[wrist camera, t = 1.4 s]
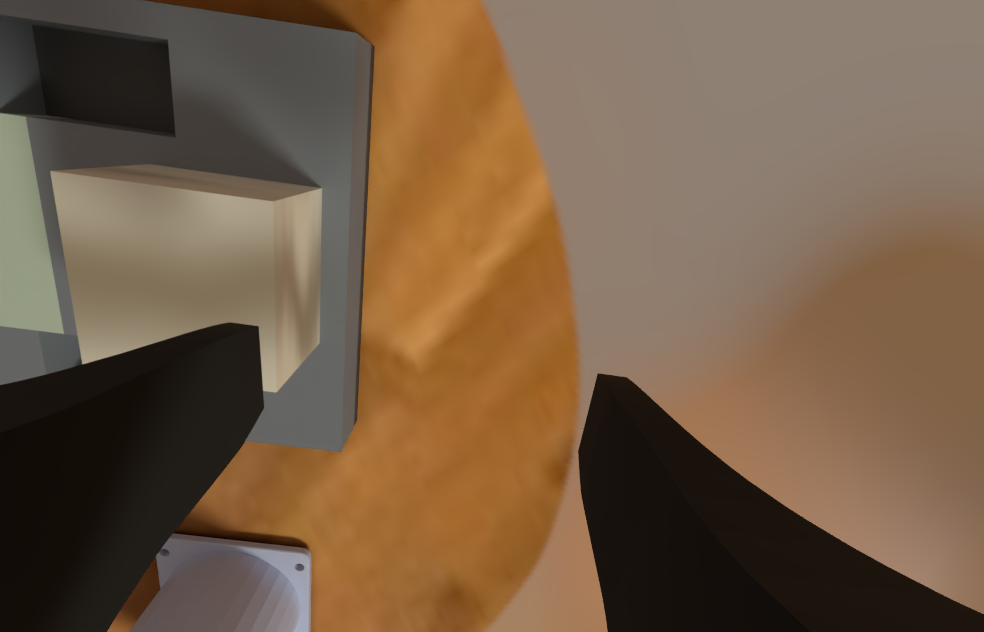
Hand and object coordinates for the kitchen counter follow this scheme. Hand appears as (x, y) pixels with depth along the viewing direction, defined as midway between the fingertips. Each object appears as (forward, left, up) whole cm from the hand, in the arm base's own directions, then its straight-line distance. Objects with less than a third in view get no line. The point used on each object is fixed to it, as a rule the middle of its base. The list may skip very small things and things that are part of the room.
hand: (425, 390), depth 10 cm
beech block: (0, +8, -9) cm, 12 cm away
